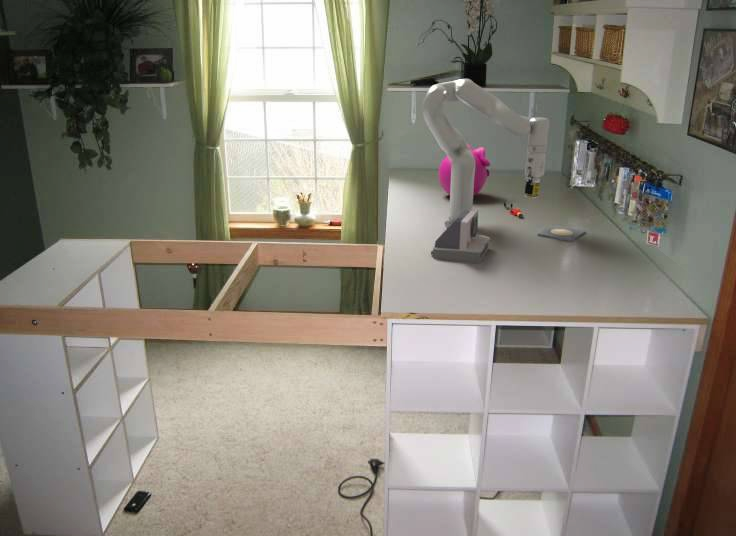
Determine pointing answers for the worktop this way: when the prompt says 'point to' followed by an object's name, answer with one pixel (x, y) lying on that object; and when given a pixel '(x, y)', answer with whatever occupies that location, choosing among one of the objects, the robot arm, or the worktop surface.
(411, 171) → the worktop surface
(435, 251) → the grey angle bracket
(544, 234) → the card
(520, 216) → the person figure
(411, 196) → the worktop surface
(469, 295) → the worktop surface
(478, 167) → the figurine
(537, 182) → the supplement bottle
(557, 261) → the worktop surface
